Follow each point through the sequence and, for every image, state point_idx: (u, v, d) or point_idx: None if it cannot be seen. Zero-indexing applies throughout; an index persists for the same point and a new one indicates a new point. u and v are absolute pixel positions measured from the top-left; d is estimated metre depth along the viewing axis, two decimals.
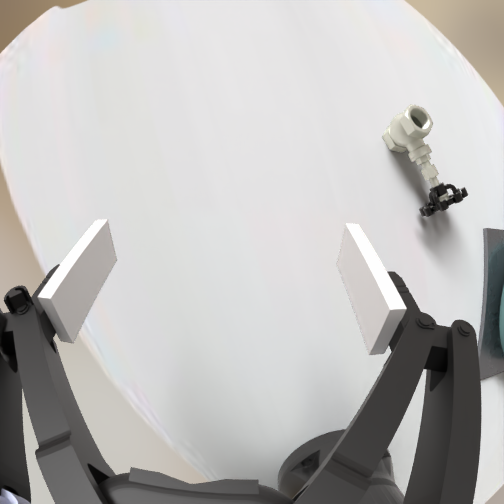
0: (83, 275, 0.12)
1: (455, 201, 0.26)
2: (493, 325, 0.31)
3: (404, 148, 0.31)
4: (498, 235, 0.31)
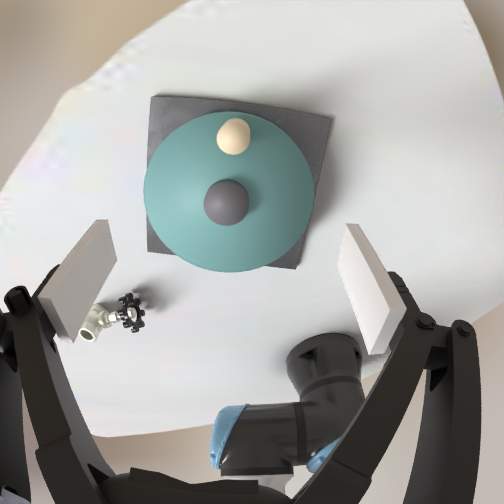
0: (83, 275, 0.12)
1: None
2: None
3: None
4: (153, 234, 0.41)
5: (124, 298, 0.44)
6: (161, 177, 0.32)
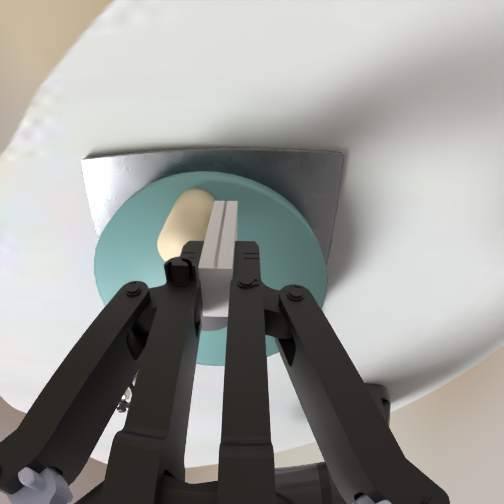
0: None
1: (125, 409, 0.36)
2: None
3: None
4: None
5: None
6: (114, 278, 0.23)
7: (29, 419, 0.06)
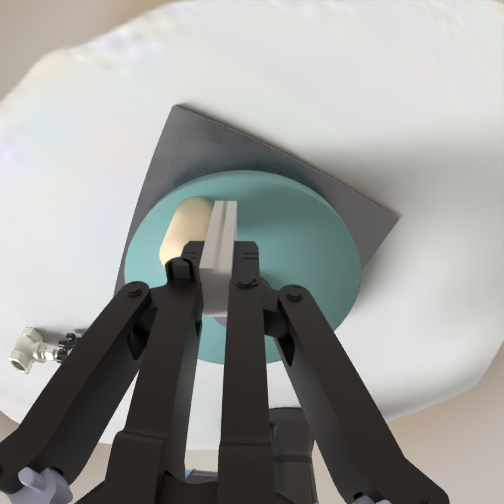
0: None
1: None
2: None
3: None
4: None
5: (65, 343, 0.31)
6: None
7: (29, 419, 0.06)
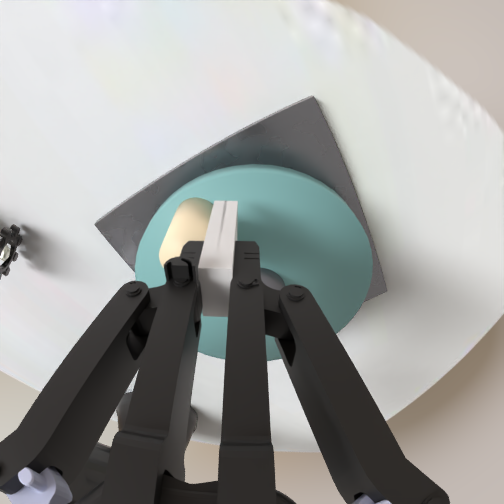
0: None
1: None
2: None
3: None
4: (120, 217, 0.25)
5: (8, 234, 0.23)
6: None
7: (29, 419, 0.06)
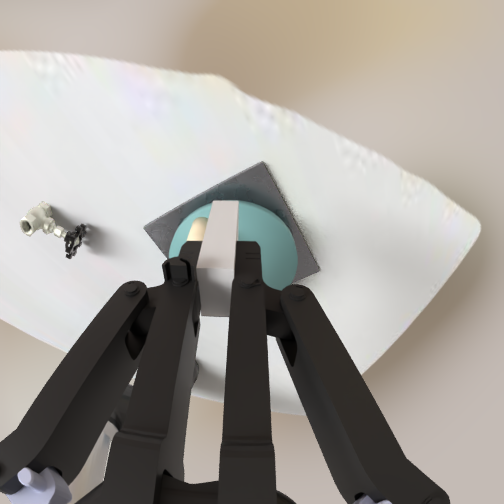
0: None
1: None
2: None
3: None
4: (159, 224, 0.47)
5: (81, 229, 0.44)
6: None
7: (28, 419, 0.05)
